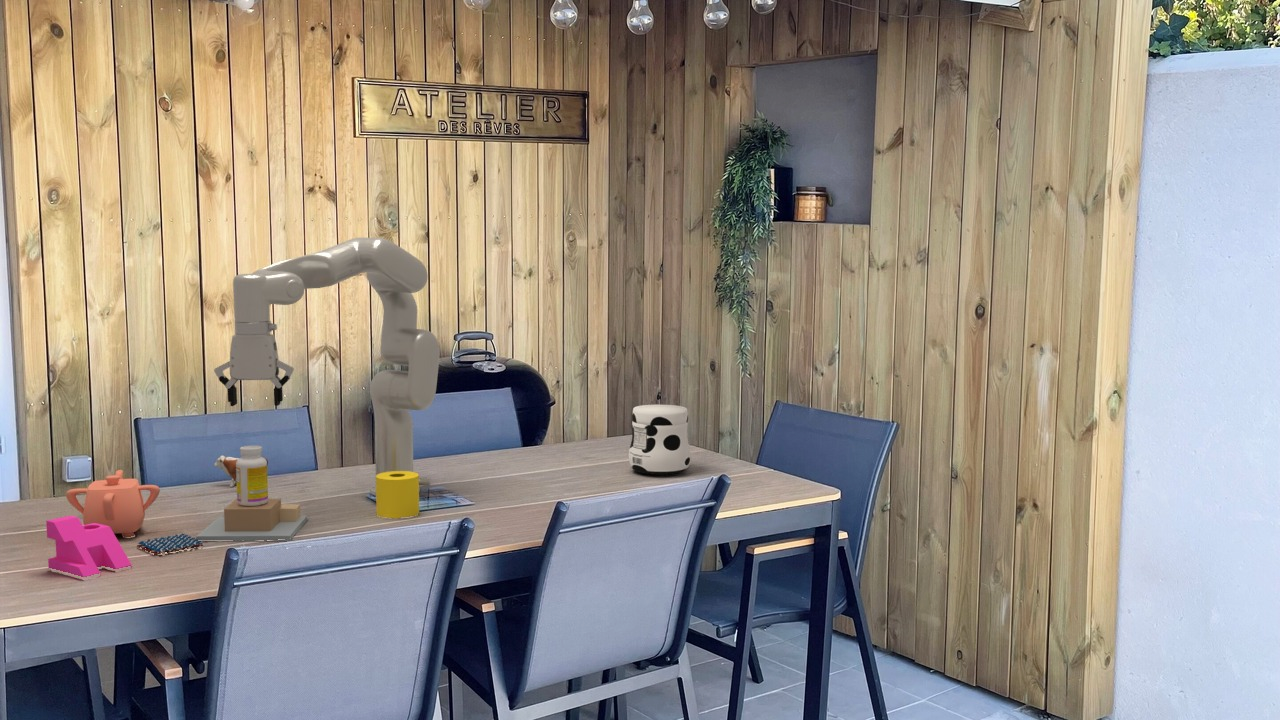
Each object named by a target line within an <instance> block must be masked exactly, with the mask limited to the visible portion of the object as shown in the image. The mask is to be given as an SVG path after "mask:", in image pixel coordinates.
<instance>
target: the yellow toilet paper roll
mask: <svg viewBox="0 0 1280 720" xmlns="http://www.w3.org/2000/svg"><path fill="white" fill-rule="evenodd" d="M419 478H420V475H419V473H418V472H415V471H413V472H411V471H390V472H383V473H380V474H377V475H376V474H375V485H376V496H375V500H376V516H377V515H378V516H380V517H387V518H401V517H410V516H415V515H417V514H418V513H419V514H420V491H419V487H420V485H419ZM378 516H377V517H378ZM417 516H418V515H417ZM380 517H379V518H380ZM415 517H416V516H415Z"/></svg>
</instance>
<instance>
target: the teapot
mask: <svg viewBox="0 0 1280 720" xmlns="http://www.w3.org/2000/svg"><path fill="white" fill-rule="evenodd" d="M123 473H124V471H123V469H118V470H116V472H115V474H113V475H106V476H105V477H104V478H105V479H101V480H99V479H98V480H94V481H92V482H91V483H90V484H89V485H88V486H87V487H86V488H84V487H83V488H72V489H69V490H67V491H66V493H65V498H66V500H67V502H68V503H69V504H70V505H71V506H72V507H74V508H75V510H77V511H78V512H79V513H80V514H82V515H83V516H82V521H83V522H82V525H87V524H92V523H98V524H102V525H106V526H110V528H111V529H112V531H113V533H114V535H115V534H121V536H124V537H131V536H134V535H135V536H136V534H135V533H134V532H137V531H138V530H140V529H141V527H143V525H144V524H143V523H144V521H145V515H146V514H145V513H146V512H145V511H146V510H147V509H149V508H150V506H151V505H153V503H154V502H155V501H156V500H157V498H158V496H159V495H160V492H161V489H160V487H159V486H158V485H155V484H142V485H140V484H139V480H138V479H137V478H123V477H124V475H123ZM142 491H149V492H150V494H149V497H148V498H147V500H146V502H145V503H144V498H143V493H142ZM78 494H85V497H84V498H85V499H84V505H81V503H80V502H79V500H78V499H77V495H78Z"/></svg>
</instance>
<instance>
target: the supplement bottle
mask: <svg viewBox="0 0 1280 720" xmlns="http://www.w3.org/2000/svg"><path fill="white" fill-rule="evenodd" d="M262 453H263V446H261V445H243V446H241V447H239V454H240V456H241V457H239V458H240V459H238V460H237V462H236V481H237V485H236V499H237V502H238V504H239V505H242V506H259V505H263V504H265V503H267V502H268V499H269V486H268V485H269V482H268V466H267V461H266V459H267V458H266V457H265V458H266V459H265V458H263V456H262Z"/></svg>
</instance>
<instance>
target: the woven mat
mask: <svg viewBox="0 0 1280 720" xmlns="http://www.w3.org/2000/svg"><path fill="white" fill-rule="evenodd" d="M203 544H204V542H201V541H198V539H196V537H192V536H190V535H188V534H185V533H181V534H174V535H172V536H171V535H167V536H165V537H164V536H163V537H162V536H161V537H158V538H157V537H155V538H152V539H147V540H144V541H143V540H140V541H139V542H138V544H137V545H136V547H137V548H138V549H139V548H140V547H141V548H142V549H143V550H146V551H148V552H150V551H151V553H154V555H157V554H161V553H162V554H165V552H167V553H169V552H176V551H179V550H184V549H185V548H187V549H191V548H194V547H202V548H203V547H204V545H203ZM145 548H146V549H145ZM194 549H195V548H194ZM143 550H142V551H143ZM184 551H185V550H184ZM176 553H177V552H176ZM169 554H170V553H169ZM154 555H153V556H154Z"/></svg>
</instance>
